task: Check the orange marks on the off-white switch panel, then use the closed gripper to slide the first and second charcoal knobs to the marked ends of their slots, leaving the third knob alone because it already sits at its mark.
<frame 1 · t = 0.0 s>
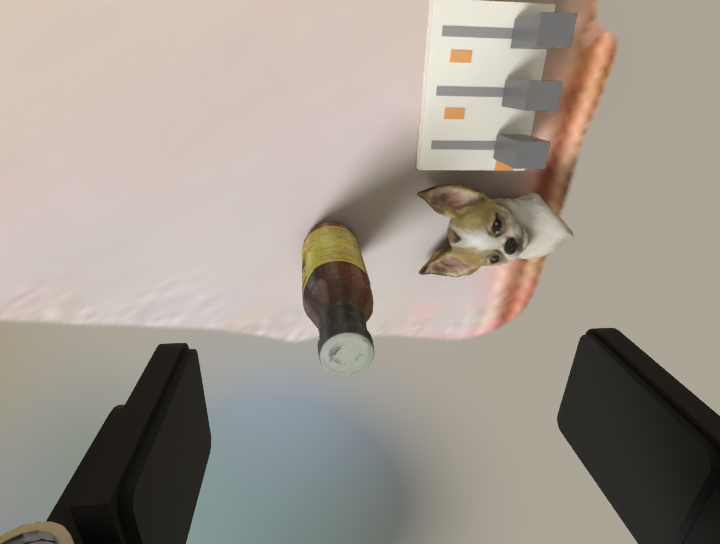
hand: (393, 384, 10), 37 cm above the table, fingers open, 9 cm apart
ceramic sculpture: (476, 220, 49), on the table
slider 3: (519, 150, 41), point 4 cm above the table, slide at 0.0 cm
slider 2: (530, 94, 39), point 4 cm above the table, slide at 0.0 cm
sauce bottle: (331, 246, 48), on the table
slider 1: (541, 32, 37), point 4 cm above the table, slide at 0.0 cm
switch panel: (477, 91, 43), on the table
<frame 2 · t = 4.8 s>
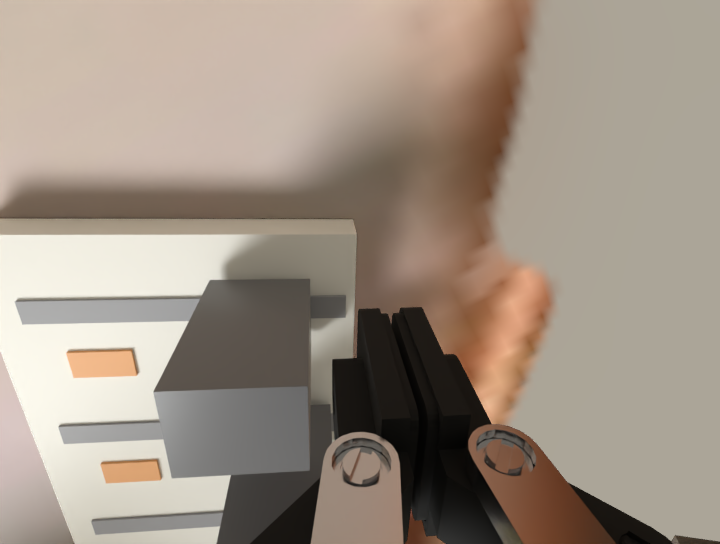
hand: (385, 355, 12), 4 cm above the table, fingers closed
slider 2: (284, 491, 13), point 4 cm above the table, slide at 0.0 cm
slider 1: (252, 361, 11), point 4 cm above the table, slide at 0.7 cm, touching gripper
switch panel: (206, 399, 17), on the table
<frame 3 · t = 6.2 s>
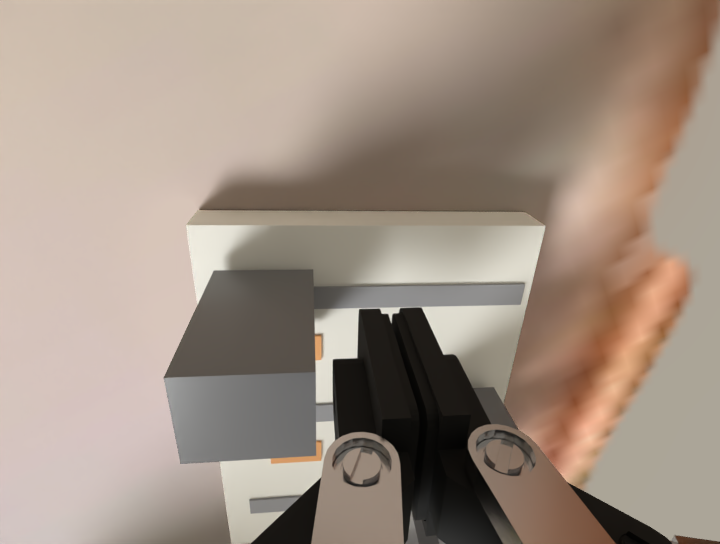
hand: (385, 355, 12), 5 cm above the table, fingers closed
slider 2: (473, 467, 14), point 4 cm above the table, slide at 0.0 cm
slider 1: (258, 350, 11), point 4 cm above the table, slide at 6.8 cm, touching gripper
switch panel: (359, 384, 18), on the table
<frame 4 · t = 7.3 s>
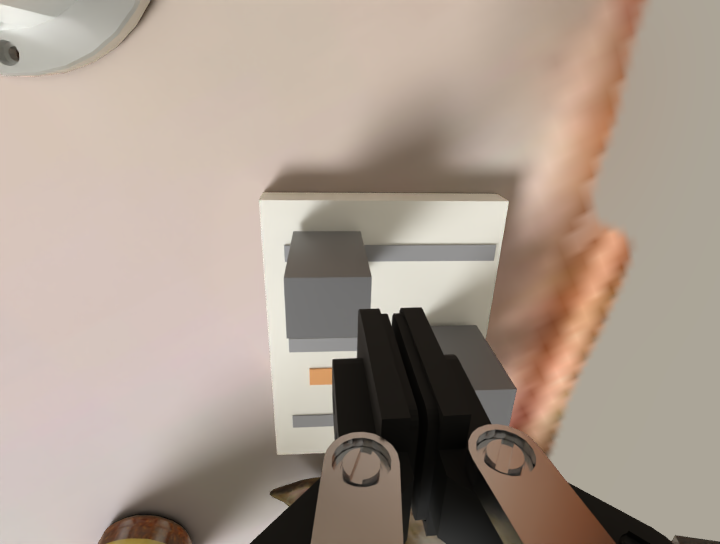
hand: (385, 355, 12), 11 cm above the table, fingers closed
ceramic sculpture: (384, 505, 30), on the table
slider 2: (458, 375, 20), point 4 cm above the table, slide at 0.0 cm
sauce bottle: (153, 538, 29), on the table
slider 1: (327, 278, 17), point 4 cm above the table, slide at 6.0 cm
switch panel: (376, 327, 24), on the table
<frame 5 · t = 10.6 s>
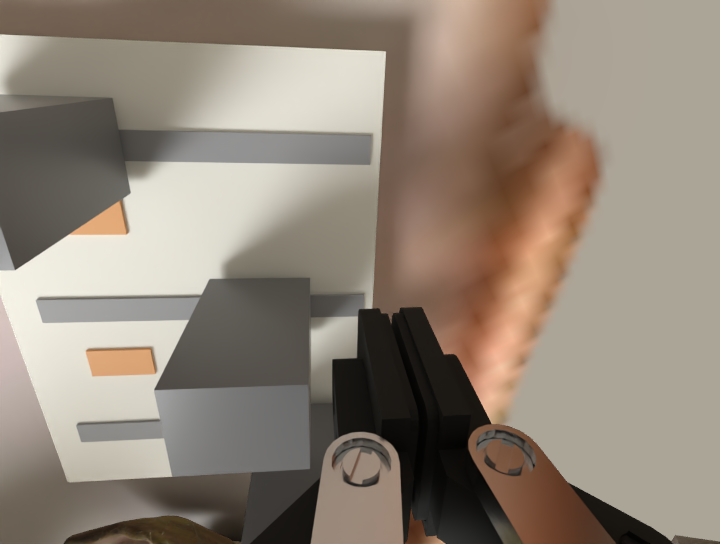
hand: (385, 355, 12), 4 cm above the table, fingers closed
slider 3: (304, 489, 14), point 4 cm above the table, slide at 0.0 cm
slider 2: (252, 360, 11), point 4 cm above the table, slide at 1.3 cm, touching gripper
switch panel: (207, 286, 15), on the table
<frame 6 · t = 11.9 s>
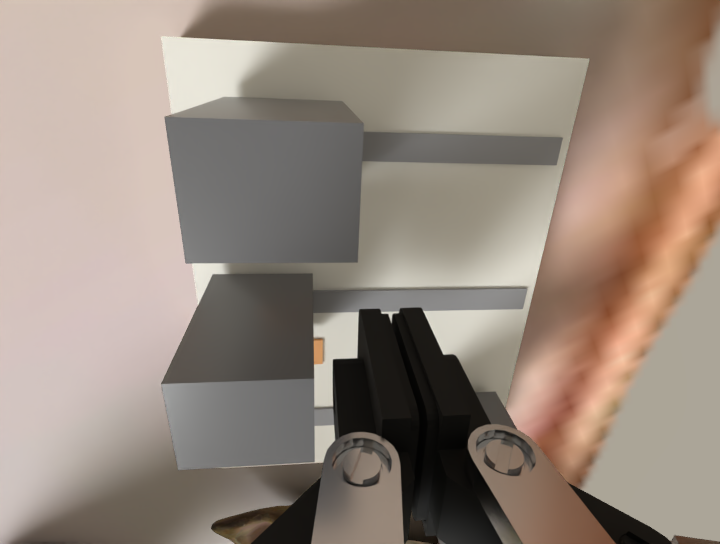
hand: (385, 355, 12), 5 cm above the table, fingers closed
ceramic sculpture: (363, 540, 23), on the table
slider 3: (475, 472, 14), point 4 cm above the table, slide at 0.0 cm
slider 2: (256, 355, 11), point 4 cm above the table, slide at 6.8 cm, touching gripper
slider 1: (279, 165, 9), point 4 cm above the table, slide at 6.0 cm
switch panel: (366, 280, 16), on the table
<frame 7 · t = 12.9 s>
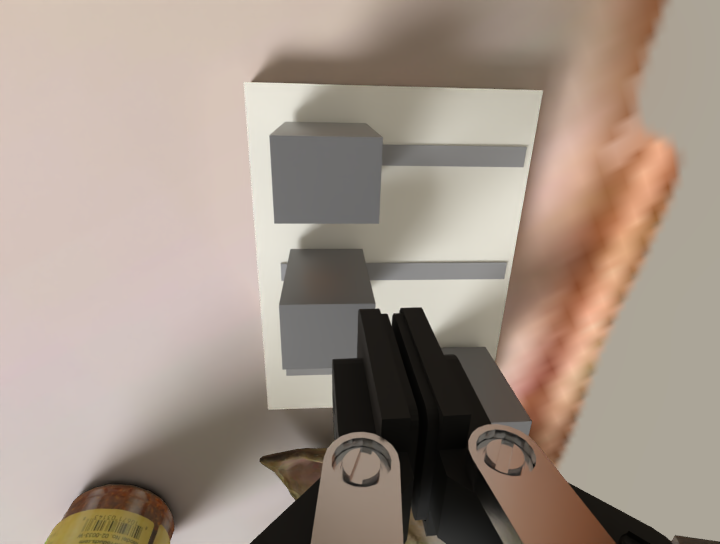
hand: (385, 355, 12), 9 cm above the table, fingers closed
ceramic sculpture: (378, 491, 27), on the table
slider 3: (467, 403, 19), point 4 cm above the table, slide at 0.0 cm
slider 2: (327, 301, 16), point 4 cm above the table, slide at 6.0 cm
sauce bottle: (129, 513, 26), on the table
slider 1: (326, 166, 14), point 4 cm above the table, slide at 6.0 cm
switch panel: (383, 258, 20), on the table
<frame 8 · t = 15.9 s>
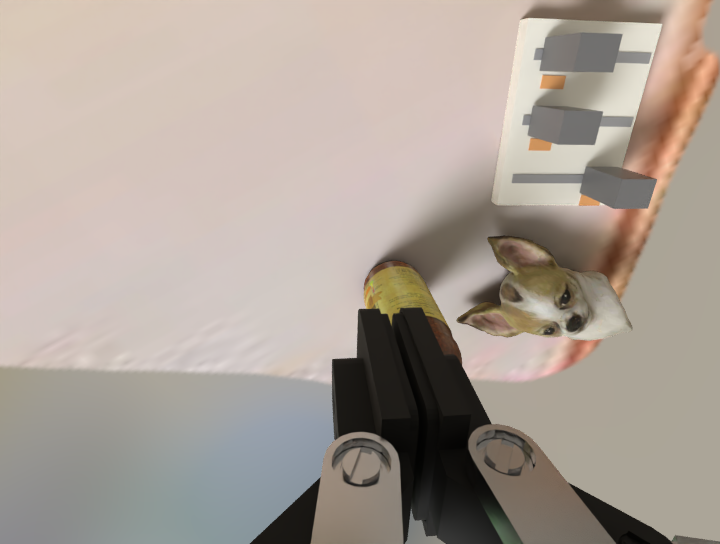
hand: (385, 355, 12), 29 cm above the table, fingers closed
ceramic sculpture: (527, 282, 46), on the table
slider 3: (615, 186, 37), point 4 cm above the table, slide at 0.0 cm
slider 2: (562, 124, 34), point 4 cm above the table, slide at 6.0 cm
sauce bottle: (392, 286, 44), on the table
slider 1: (577, 54, 32), point 4 cm above the table, slide at 6.0 cm
switch panel: (564, 119, 38), on the table
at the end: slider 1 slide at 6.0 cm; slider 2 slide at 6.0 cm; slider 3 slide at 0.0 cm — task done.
